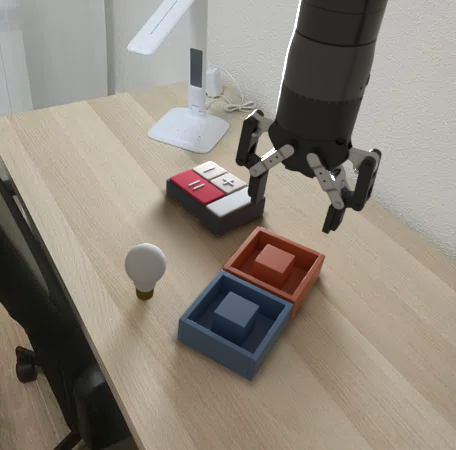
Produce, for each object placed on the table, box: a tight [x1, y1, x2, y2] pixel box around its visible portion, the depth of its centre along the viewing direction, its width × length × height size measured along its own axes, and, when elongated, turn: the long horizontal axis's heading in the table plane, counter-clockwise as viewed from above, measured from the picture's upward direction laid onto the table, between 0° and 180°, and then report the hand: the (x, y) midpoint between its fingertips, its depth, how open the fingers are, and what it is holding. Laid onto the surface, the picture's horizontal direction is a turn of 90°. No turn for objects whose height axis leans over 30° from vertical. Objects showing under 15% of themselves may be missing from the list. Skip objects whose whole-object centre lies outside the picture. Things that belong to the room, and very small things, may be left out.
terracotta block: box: [251, 244, 295, 290], centre depth 84 cm, size 5×5×5 cm
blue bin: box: [176, 269, 293, 382], centre depth 77 cm, size 12×12×4 cm
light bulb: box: [124, 242, 167, 301], centre depth 80 cm, size 6×6×10 cm
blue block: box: [211, 292, 259, 347], centre depth 76 cm, size 5×5×5 cm
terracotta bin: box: [222, 226, 327, 323], centre depth 85 cm, size 12×12×4 cm
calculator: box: [165, 160, 266, 237], centre depth 99 cm, size 11×4×15 cm
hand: (291, 214), depth 61 cm, fingers open, 8 cm apart
